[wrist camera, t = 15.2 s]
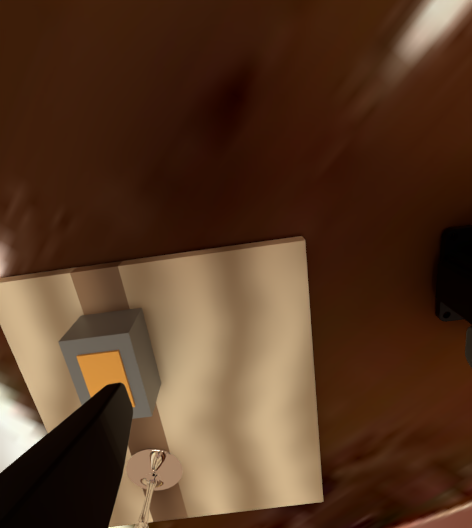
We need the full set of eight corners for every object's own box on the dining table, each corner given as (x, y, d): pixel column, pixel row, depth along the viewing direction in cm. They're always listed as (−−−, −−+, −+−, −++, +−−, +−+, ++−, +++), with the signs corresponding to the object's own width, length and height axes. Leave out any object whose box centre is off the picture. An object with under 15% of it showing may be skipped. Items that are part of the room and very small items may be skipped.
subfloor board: (301, 235, 21) (305, 240, 20) (320, 489, 29) (323, 501, 28) (-6, 278, 21) (-17, 285, 20) (94, 516, 29) (90, 529, 28)
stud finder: (142, 307, 21) (127, 334, 18) (161, 383, 23) (151, 418, 20) (80, 315, 21) (56, 343, 18) (105, 390, 23) (87, 425, 20)
